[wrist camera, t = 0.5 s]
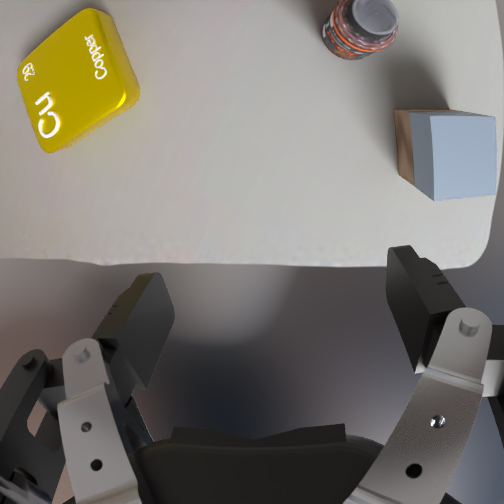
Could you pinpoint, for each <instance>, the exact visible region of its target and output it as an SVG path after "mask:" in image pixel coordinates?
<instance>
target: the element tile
mask: <svg viewBox="0 0 504 504" xmlns="http://www.w3.org/2000/svg"><path fill="white" fill-rule="evenodd" d="M17 81H18V84H19V88H20V91H21V94H22V97H23V100H24V103H25V106H26V109H27V112H28V115H29V118H30V121H31V123H32V126H33V129H34V132H35V134H36V137H37V139H38V142H39V144H40V146H41V148H42V149H43V150H44V151H45V152H47V153H53V152H56V151H59V150H62V149H64V148H67V147H70V146H72V145H73V144H74V143H76V142H77V141H79V140H80V139H82V138H83V137H85V136H86V135H88V134H89V133H91V132H92V131H94V130H95V129H97V128H98V127H100V126H101V125H103V124H105V123H106V122H108V121H109V120H111V119H113V118H114V117H116V116H118V115H119V114H121V113H123V112H124V111H126V110H128V109H130V108H131V107H132V106H134V105H135V104H136V102H137V101H138V99H139V96H140V87H139V84H138V81H137V79H136V76H135V74H134V72H133V69H132V67H131V64H130V62H129V59H128V57H127V54H126V52H125V49H124V47H123V44H122V42H121V39H120V37H119V34H118V32H117V29H116V26H115V24H114V21H113V19H112V17H111V16H110V15H109V14H107V13H105V12H102V11H99V10H96V9H94V8H87V9H84V10H82V11H80V12H79V13H77V14H76V15H75V16H73V17H72V18H71V19H69V20H68V21H67V22H66V23H64V24H63V25H62V26H61V27H59V28H58V29H57V30H56V31H55V32H53V33H52V34H51V35H50V36H49V37H48V38H47V39H45V40H44V41H43V42H42V43H41V44H40V45H39V46H38V47H37V48H36V49H34V50H33V51H32V52H31V53H30V54H29V55H28V56H27V57H26V58H25V59H24V60H23V61H22V62H21V64H20V66H19V68H18V70H17Z"/></svg>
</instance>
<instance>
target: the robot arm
mask: <svg viewBox="0 0 504 504" xmlns="http://www.w3.org/2000/svg"><path fill="white" fill-rule="evenodd" d="M386 297H387V302H388V305H389V307H390V310H391V312H392V314H393V317H394V320H395V322H396V325H397V327H398V330H399V332H400V335H401V338H402V340H403V343H404V345H405V348H406V351H407V353H408V356H409V359H410V362H411V365H412V368H413V370H414V373H420V372H423V374H422V376H421V378H420V380H419V383H418V385H417V387H416V389H415V391H414V393H413V395H412V397H411V399H410V401H409V403H408V405H407V407H406V409H405V410H404V412H403V414H402V416H401V418H400V420H399V422H398V423H397V425H396V427H395V429H394V430H393V432H392V434H391V436H390V437H389V439H388V441H387V442H386V444H385V445H382V444H380V443H377V442H375V441H373V440H370V439H367V438H364V437H359V436H354V435H346V434H345V425H344V424H335V425H326V426H316V427H305V428H298V429H294V430H291V431H287V432H284V433H280V434H276V435H272V436H268V437H263V438H259V439H249V438H245V437H241V436H237V435H233V434H228V433H225V432H221V431H217V430H214V429H199V428H185V427H174V428H173V432H172V435H171V438H167V439H162V440H159V441H156V442H154V441H153V440H152V438H151V436H150V434H149V432H148V429H147V427H146V425H145V423H144V420H143V418H142V416H141V413H140V411H139V409H138V406H137V404H136V401H135V399H134V397H133V396H132V391H133V389H147V388H148V385H149V383H150V380H151V377H152V375H153V372H154V370H155V367H156V364H157V362H158V359H159V357H160V355H161V352H162V350H163V347H164V345H165V342H166V340H167V338H168V335H169V333H170V330H171V328H172V325H173V323H174V318H175V314H174V307H173V304H172V302H171V299H170V296H169V294H168V291H167V288H166V285H165V283H164V280H163V278H162V275H161V274H160V273H158V272H155V273H145V274H139V275H138V276H137V277H136V279H135V280H134V282H133V283H132V285H131V286H130V288H128V289H127V290H126V291H124V292H123V293H122V294H121V295H120V296H118V298H117V300H116V301H115V302H114V304H113V307H111V309H110V310H109V311H108V315H106V316H105V317H104V319H103V321H102V322H101V324H100V325H99V327H98V328H97V330H96V331H95V333H94V335H93V336H92V338H87V339H82V340H79V341H77V342H75V343H74V344H72V345H71V346H70V347H69V348H68V349H67V350H66V352H65V353H64V355H63V358H59V359H54V360H49V359H48V358H47V357H46V355H45V354H44V352H43V351H42V350H39V349H36V350H31V351H29V352H27V353H26V354H25V355H23V356H22V357H21V358H20V359H19V360H18V362H17V364H16V365H15V366H14V368H13V370H12V371H11V373H10V374H9V376H8V377H7V379H6V381H5V382H4V384H3V386H2V387H1V389H0V504H52V501H53V497H54V494H55V491H56V488H57V485H58V482H59V479H60V477H61V474H62V471H63V468H64V465H65V462H66V463H67V468H68V472H69V477H70V480H71V485H72V488H73V492H74V496H73V497H72V498H71V499H69V500H68V501H66V502H65V503H63V504H461V503H460V502H458V501H457V500H456V499H454V498H453V497H452V496H450V495H449V494H448V493H446V490H447V488H448V486H449V484H450V482H451V479H452V477H453V475H454V473H455V471H456V468H457V466H458V464H459V461H460V459H461V457H462V454H463V452H464V449H465V446H466V443H467V441H468V438H469V436H470V433H471V430H472V427H473V424H474V421H475V418H476V415H477V412H478V408H479V405H480V402H481V398H482V396H484V397H487V398H488V400H489V403H490V406H491V409H492V412H493V415H494V418H495V421H496V424H497V427H498V430H499V434H500V437H501V440H502V444H503V447H504V325H492V324H491V322H490V320H489V318H488V317H487V316H485V314H484V313H482V312H480V311H478V310H476V309H472V308H466V307H465V305H464V303H463V302H462V300H461V299H460V297H459V296H458V294H457V293H456V292H455V290H454V289H453V287H452V286H451V285H450V283H448V280H447V279H446V277H445V276H443V273H442V272H441V270H440V269H439V268H438V266H437V265H436V264H434V263H433V262H431V261H430V260H428V259H427V258H419V256H418V255H417V253H416V252H415V251H414V249H413V248H412V247H411V246H410V245H406V246H398V247H390V248H389V249H388V255H387V275H386ZM37 400H38V401H39V403H40V404H41V405H42V406H43V407H44V408H45V409H46V410H47V412H46V414H45V416H44V418H43V420H42V422H41V425H40V427H39V429H38V431H37V433H36V435H35V437H34V436H33V435H32V434H31V433H30V432H29V430H28V428H27V419H28V417H29V415H30V413H31V411H32V409H33V407H34V405H35V403H36V401H37Z"/></svg>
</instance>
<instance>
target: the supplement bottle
mask: <svg viewBox="0 0 504 504" xmlns="http://www.w3.org/2000/svg"><path fill="white" fill-rule="evenodd" d="M397 31H398V13H397V10H396V9H395V7H394V5H393V4H392V3H391V2H390V1H389V0H340V1H339V2H338V3H337V5H336V6H335V8H334V9H333V11H332V12H331V14H330V16H329V17H328V19H327V20H326V22H325V24H324V26H323V31H322V36H323V40H324V43H325V45H326V46H327V48H328V49H329V50H330V51H331V52H332V53H333V54H335V55H336V56H338V57H340V58H343V59H347V60H358V59H361V58H364V57H366V56H368V55H370V54H373V53H375V52H377V51H379V50H382V49H384V48H386V47H387V46H389V45H390V44H391V43H392V42H393V41H394V39H395V37H396V35H397Z"/></svg>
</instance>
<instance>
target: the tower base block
mask: <svg viewBox="0 0 504 504" xmlns="http://www.w3.org/2000/svg"><path fill="white" fill-rule="evenodd" d="M409 112H463V111H456V110H444V109H405V110H394V118H395V128H396V138H397V150H398V165H399V175H400V176H401V177H402V178H404V179H405V180H407V181H408V182H409V183H411V184H412V185H414V163H413V148H412V136H411V126H410V116H409ZM468 113H469V112H468Z"/></svg>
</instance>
